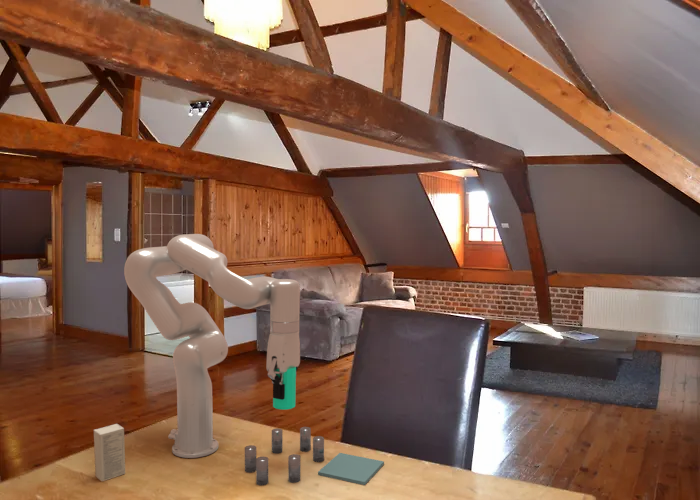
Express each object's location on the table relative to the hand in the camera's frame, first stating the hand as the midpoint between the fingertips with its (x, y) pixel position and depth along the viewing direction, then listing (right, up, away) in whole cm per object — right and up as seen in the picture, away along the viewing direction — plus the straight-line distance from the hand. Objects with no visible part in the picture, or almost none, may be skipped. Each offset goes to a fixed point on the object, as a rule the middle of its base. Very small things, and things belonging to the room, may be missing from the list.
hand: (284, 394), depth 152 cm
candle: (0, -3, 0) cm, 3 cm away
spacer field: (0, -19, +1) cm, 19 cm away
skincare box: (-43, -19, -5) cm, 48 cm away
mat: (+18, -19, -1) cm, 26 cm away
